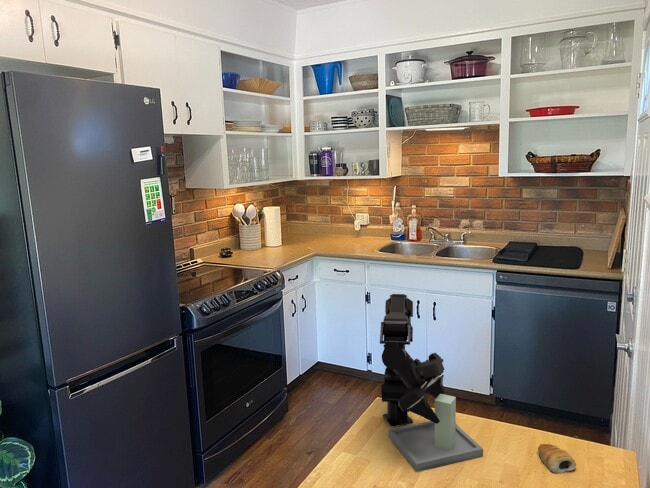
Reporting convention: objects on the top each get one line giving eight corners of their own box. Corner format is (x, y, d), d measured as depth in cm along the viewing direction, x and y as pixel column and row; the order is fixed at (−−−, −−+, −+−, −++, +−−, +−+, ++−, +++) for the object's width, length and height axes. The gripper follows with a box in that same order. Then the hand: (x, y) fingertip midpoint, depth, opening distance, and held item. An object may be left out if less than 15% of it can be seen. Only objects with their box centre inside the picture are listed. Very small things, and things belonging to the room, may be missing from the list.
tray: (388, 436, 132) (388, 429, 132) (448, 423, 138) (448, 417, 137) (416, 471, 117) (416, 464, 117) (483, 456, 123) (483, 448, 122)
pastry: (530, 452, 124) (530, 438, 123) (555, 449, 125) (555, 435, 124) (552, 475, 115) (553, 460, 114) (579, 472, 116) (580, 457, 115)
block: (434, 446, 125) (434, 400, 123) (440, 438, 129) (440, 393, 127) (450, 451, 123) (450, 403, 121) (455, 443, 127) (455, 397, 125)
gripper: (410, 360, 117) (456, 415, 113) (436, 335, 133) (477, 383, 129) (379, 384, 122) (423, 438, 119) (408, 358, 138) (447, 404, 134)
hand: (444, 414), depth 125 cm, fingers open, 9 cm apart
